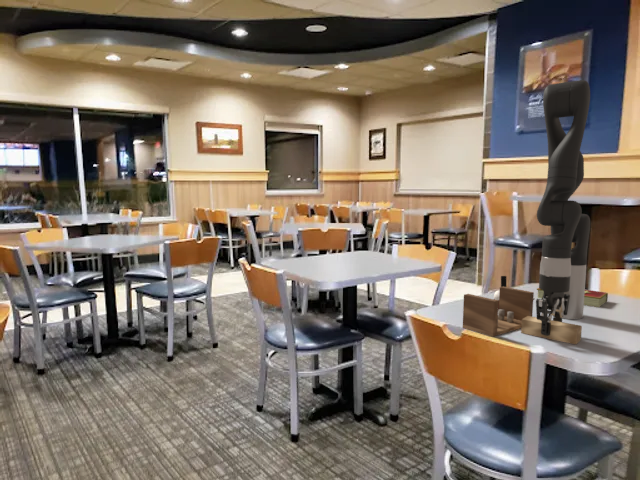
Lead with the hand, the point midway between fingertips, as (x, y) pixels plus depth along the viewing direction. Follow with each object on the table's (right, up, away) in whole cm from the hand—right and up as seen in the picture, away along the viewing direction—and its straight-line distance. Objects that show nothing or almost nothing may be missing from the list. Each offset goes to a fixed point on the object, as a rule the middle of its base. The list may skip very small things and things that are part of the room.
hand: (551, 332), depth 124 cm
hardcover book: (+30, +3, +43) cm, 52 cm away
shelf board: (0, -1, 0) cm, 1 cm away
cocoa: (-2, +2, +28) cm, 28 cm away
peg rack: (-11, 0, +9) cm, 15 cm away
